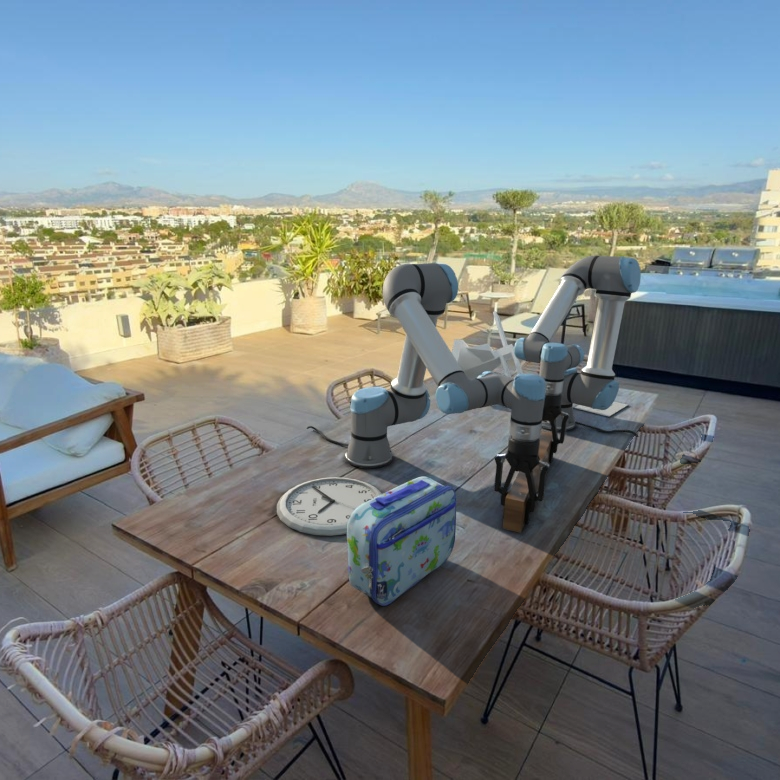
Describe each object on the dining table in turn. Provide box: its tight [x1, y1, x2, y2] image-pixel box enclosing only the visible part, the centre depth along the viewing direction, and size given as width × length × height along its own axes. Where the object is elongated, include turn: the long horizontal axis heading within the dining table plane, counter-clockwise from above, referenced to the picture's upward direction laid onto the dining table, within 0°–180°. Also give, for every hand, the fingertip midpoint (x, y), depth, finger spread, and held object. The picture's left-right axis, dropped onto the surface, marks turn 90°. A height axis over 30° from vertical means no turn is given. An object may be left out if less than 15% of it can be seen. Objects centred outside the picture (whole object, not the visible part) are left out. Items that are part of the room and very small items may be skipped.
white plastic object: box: [451, 310, 524, 379], centre depth 245 cm, size 37×45×31 cm
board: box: [502, 430, 553, 534], centre depth 153 cm, size 51×5×9 cm, turn 155°
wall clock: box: [276, 476, 384, 537], centre depth 142 cm, size 30×2×30 cm
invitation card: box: [573, 401, 629, 418], centre depth 226 cm, size 21×1×15 cm
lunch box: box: [346, 475, 457, 607], centre depth 111 cm, size 26×11×21 cm, turn 134°
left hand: (516, 519), depth 136 cm, fingers open, 5 cm apart
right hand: (542, 459), depth 172 cm, fingers closed on board, 5 cm apart
